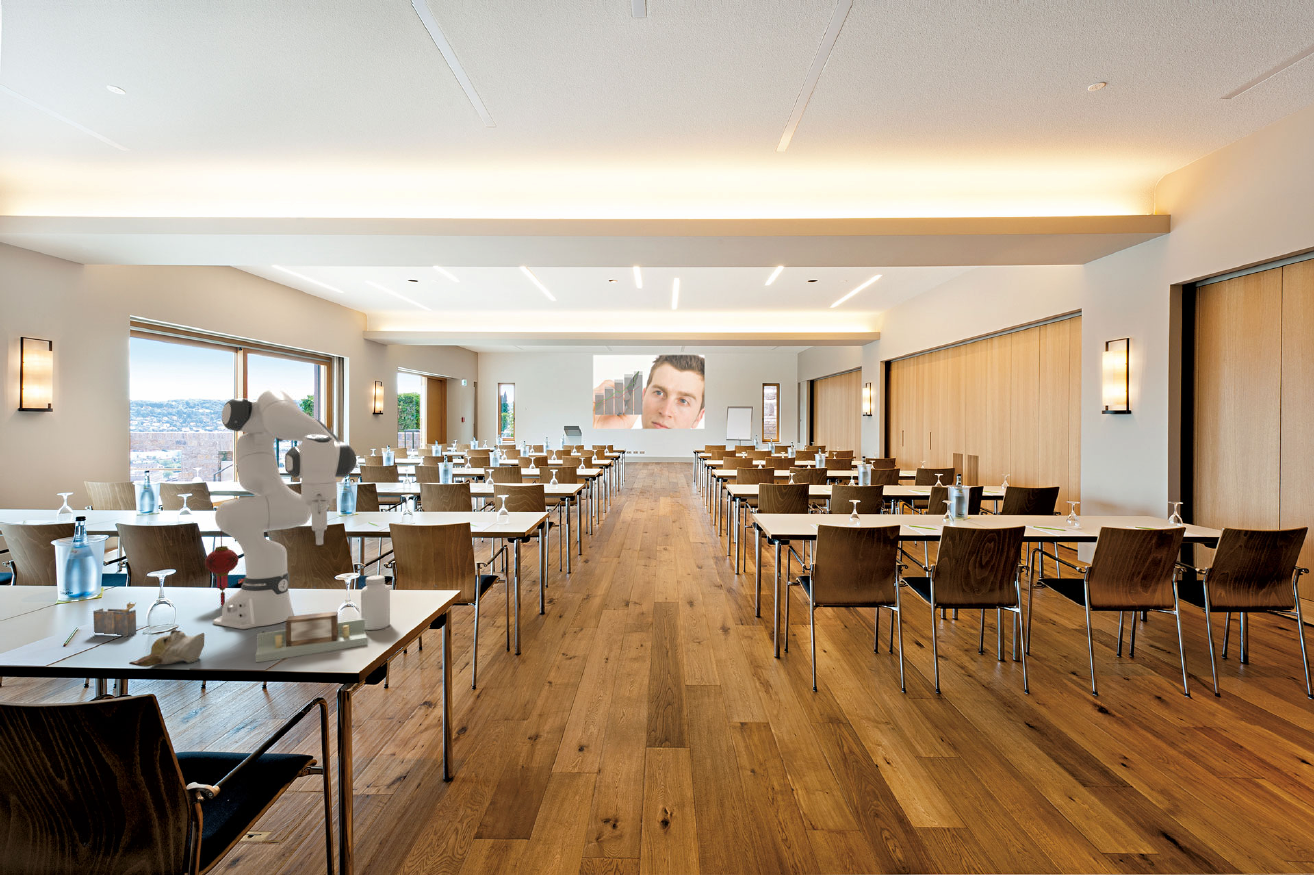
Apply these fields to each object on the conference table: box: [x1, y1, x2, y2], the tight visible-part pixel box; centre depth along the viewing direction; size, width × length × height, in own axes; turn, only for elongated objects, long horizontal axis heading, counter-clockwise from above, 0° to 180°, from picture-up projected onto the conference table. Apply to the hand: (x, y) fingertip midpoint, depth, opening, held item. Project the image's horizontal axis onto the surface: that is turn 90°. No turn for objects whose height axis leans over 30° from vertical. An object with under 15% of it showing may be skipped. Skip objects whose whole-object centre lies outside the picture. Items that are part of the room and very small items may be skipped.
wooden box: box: [285, 610, 339, 647], centre depth 172 cm, size 12×4×7 cm, turn 111°
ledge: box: [255, 618, 368, 663], centre depth 172 cm, size 26×8×5 cm, turn 119°
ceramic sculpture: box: [128, 629, 205, 668], centre depth 163 cm, size 11×9×15 cm
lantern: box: [204, 529, 239, 606], centre depth 214 cm, size 10×10×30 cm
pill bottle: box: [360, 574, 391, 631], centre depth 190 cm, size 8×8×15 cm
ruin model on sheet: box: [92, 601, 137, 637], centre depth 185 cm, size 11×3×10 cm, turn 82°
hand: (319, 541), depth 178 cm, fingers open, 8 cm apart
